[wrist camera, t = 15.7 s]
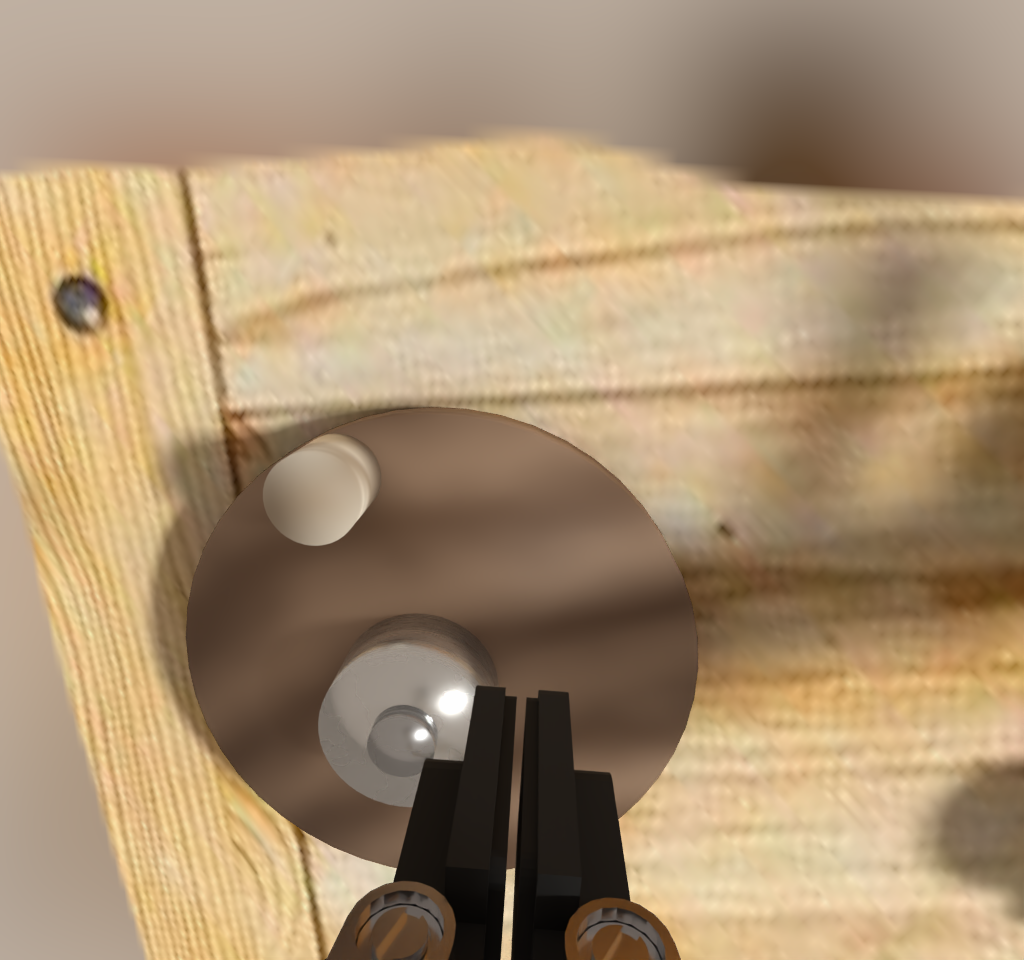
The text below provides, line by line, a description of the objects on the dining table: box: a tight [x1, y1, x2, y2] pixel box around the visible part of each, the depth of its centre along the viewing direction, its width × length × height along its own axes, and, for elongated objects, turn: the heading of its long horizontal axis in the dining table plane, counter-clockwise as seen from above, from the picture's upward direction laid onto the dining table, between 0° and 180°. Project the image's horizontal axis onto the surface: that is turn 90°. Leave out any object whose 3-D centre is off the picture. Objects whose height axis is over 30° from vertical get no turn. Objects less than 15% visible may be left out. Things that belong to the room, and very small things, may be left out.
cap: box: [318, 613, 498, 807], centre depth 32 cm, size 8×8×5 cm
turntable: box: [186, 407, 698, 870], centre depth 33 cm, size 26×26×6 cm
